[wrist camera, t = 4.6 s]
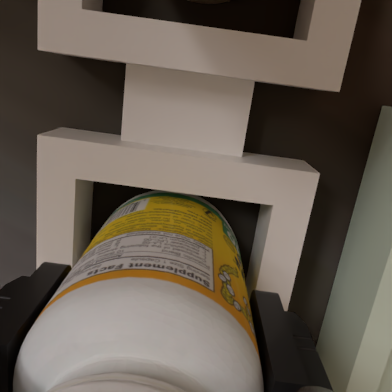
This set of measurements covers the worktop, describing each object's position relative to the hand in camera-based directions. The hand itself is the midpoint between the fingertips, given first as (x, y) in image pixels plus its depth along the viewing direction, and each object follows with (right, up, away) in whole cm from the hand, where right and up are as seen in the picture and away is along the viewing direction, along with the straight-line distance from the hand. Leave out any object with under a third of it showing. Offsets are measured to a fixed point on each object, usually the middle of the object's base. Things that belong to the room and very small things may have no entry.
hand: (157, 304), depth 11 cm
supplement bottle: (0, +1, +4) cm, 4 cm away
